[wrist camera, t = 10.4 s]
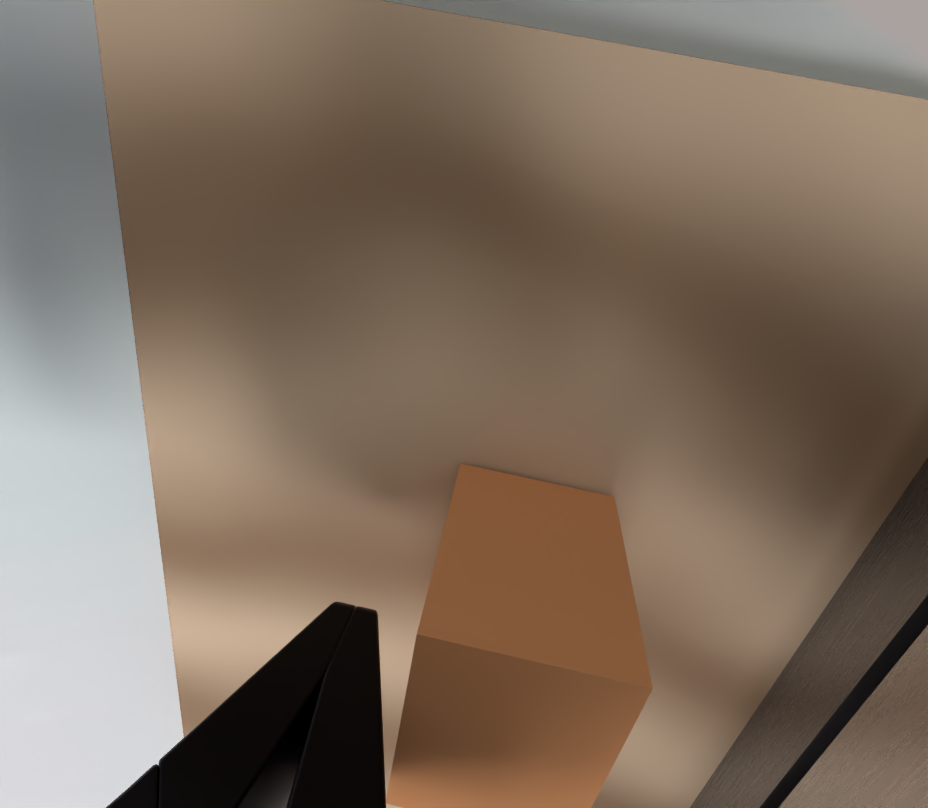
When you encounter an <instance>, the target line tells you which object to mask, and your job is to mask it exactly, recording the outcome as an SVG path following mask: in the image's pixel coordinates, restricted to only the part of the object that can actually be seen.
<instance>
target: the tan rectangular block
mask: <svg viewBox="0 0 928 808" xmlns="http://www.w3.org/2000/svg"><path fill="white" fill-rule="evenodd" d="M652 690H653V687H652V682H651V677H650V672H649V667H648V662H647V657H646V652H645V647H644V642H643V637H642V632H641V627H640V622H639V617H638V612H637V607H636V602H635V597H634V592H633V587H632V582H631V577H630V572H629V567H628V562H627V557H626V552H625V547H624V542H623V537H622V532H621V527H620V522H619V517H618V512H617V507H616V502H615V497H613V496H608V495H604V494H599V493H595V492H590V491H585V490H581V489H576V488H572V487H567V486H562V485H558V484H553V483H549V482H544V481H539V480H535V479H530V478H526V477H521V476H516V475H512V474H507V473H503V472H498V471H493V470H489V469H484V468H479V467H475V466H470V465H466V464H461V463H460V467H459V471H458V474H457V478H456V482H455V486H454V490H453V494H452V498H451V502H450V506H449V510H448V514H447V518H446V521H445V525H444V529H443V533H442V537H441V541H440V545H439V549H438V553H437V557H436V561H435V565H434V568H433V572H432V576H431V580H430V584H429V588H428V592H427V596H426V600H425V604H424V608H423V612H422V615H421V619H420V623H419V627H418V631H417V635H416V641H415V646H414V652H413V657H412V662H411V668H410V673H409V678H408V684H407V689H406V695H405V700H404V705H403V711H402V716H401V722H400V727H399V732H398V738H397V743H396V748H395V754H394V759H393V765H392V770H391V775H390V781H389V786H388V792H387V797H386V804H390V805H394V806H398V807H402V808H591V807H592V805H593V803H594V801H595V800H596V798H597V796H598V794H599V792H600V790H601V788H602V786H603V784H604V782H605V780H606V778H607V776H608V774H609V773H610V771H611V769H612V767H613V765H614V763H615V761H616V759H617V757H618V755H619V753H620V751H621V749H622V748H623V746H624V744H625V742H626V740H627V738H628V736H629V734H630V732H631V730H632V728H633V726H634V724H635V722H636V721H637V719H638V717H639V715H640V713H641V711H642V709H643V707H644V705H645V703H646V701H647V699H648V697H649V695H650V694H651V692H652Z"/></svg>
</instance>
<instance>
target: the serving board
mask: <svg viewBox="0 0 928 808" xmlns="http://www.w3.org/2000/svg"><path fill="white" fill-rule="evenodd" d="M93 3H94V11H95V19H96V27H97V36H98V44H99V52H100V60H101V68H102V76H103V84H104V92H105V100H106V109H107V117H108V125H109V133H110V141H111V149H112V157H113V165H114V173H115V182H116V190H117V198H118V206H119V214H120V222H121V230H122V238H123V246H124V255H125V263H126V271H127V279H128V287H129V295H130V303H131V311H132V319H133V327H134V336H135V344H136V352H137V360H138V368H139V376H140V384H141V392H142V400H143V409H144V417H145V425H146V433H147V441H148V449H149V457H150V465H151V473H152V482H153V490H154V498H155V506H156V514H157V522H158V530H159V538H160V546H161V555H162V563H163V571H164V579H165V587H166V595H167V603H168V611H169V619H170V628H171V636H172V644H173V652H174V660H175V668H176V676H177V684H178V692H179V701H180V709H181V717H182V725H183V733H184V737H185V736H186V735H188V734H189V733H190V732H191V731H192V730H193V729H194V728H195V727H196V726H197V725H199V724H200V723H201V722H202V721H203V720H204V719H205V718H206V717H207V716H208V715H210V714H211V713H212V712H213V711H214V710H215V709H216V708H217V707H218V706H219V705H221V704H222V703H223V702H224V701H225V700H226V699H227V698H228V697H229V696H230V695H232V694H233V693H234V692H235V691H236V690H237V689H238V688H239V687H240V686H241V685H243V684H244V683H245V682H246V681H247V680H248V679H249V678H250V677H251V676H252V675H254V674H255V673H256V672H257V671H258V670H259V669H260V668H261V667H262V666H263V665H265V664H266V663H267V662H268V661H269V660H270V659H271V658H272V657H273V656H274V655H275V654H277V653H278V652H279V651H280V650H281V649H282V648H283V647H284V646H285V645H286V644H288V643H289V642H290V641H291V640H292V639H293V638H294V637H295V636H296V635H297V634H299V633H300V632H301V631H302V630H303V629H304V628H305V627H306V626H307V625H308V624H310V623H311V622H312V621H313V620H314V619H315V618H316V617H317V616H318V615H319V614H321V613H322V612H323V611H324V610H325V609H326V608H327V607H328V606H329V605H331V604H332V603H333V602H343V603H347V604H352V605H354V606H356V607H357V606H360V607H365V608H369V609H374V610H376V611H377V613H378V626H379V650H380V673H381V696H382V719H383V743H384V766H385V789H386V797H387V792H388V786H389V781H390V775H391V770H392V765H393V759H394V754H395V748H396V743H397V738H398V732H399V727H400V722H401V716H402V711H403V705H404V700H405V695H406V689H407V684H408V678H409V673H410V668H411V662H412V657H413V652H414V646H415V641H416V635H417V631H418V627H419V623H420V619H421V615H422V612H423V608H424V604H425V600H426V596H427V592H428V588H429V584H430V580H431V576H432V572H433V568H434V565H435V561H436V557H437V553H438V549H439V545H440V541H441V537H442V533H443V529H444V525H445V521H446V518H447V514H448V510H449V506H450V502H451V498H452V494H453V490H454V486H455V482H456V478H457V474H458V471H459V467H460V463H461V464H466V465H470V466H475V467H479V468H484V469H489V470H493V471H498V472H503V473H507V474H512V475H516V476H521V477H526V478H530V479H535V480H539V481H544V482H549V483H553V484H558V485H562V486H567V487H572V488H576V489H581V490H585V491H590V492H595V493H599V494H604V495H608V496H613V497H615V502H616V507H617V512H618V517H619V522H620V527H621V532H622V537H623V542H624V547H625V552H626V557H627V562H628V567H629V572H630V577H631V582H632V587H633V592H634V597H635V602H636V607H637V612H638V617H639V622H640V627H641V632H642V637H643V642H644V647H645V652H646V657H647V662H648V667H649V672H650V677H651V682H652V687H653V690H652V692H651V694H650V695H649V697H648V699H647V701H646V703H645V705H644V707H643V709H642V711H641V713H640V715H639V717H638V719H637V721H636V722H635V724H634V726H633V728H632V730H631V732H630V734H629V736H628V738H627V740H626V742H625V744H624V746H623V748H622V749H621V751H620V753H619V755H618V757H617V759H616V761H615V763H614V765H613V767H612V769H611V771H610V773H609V774H608V776H607V778H606V780H605V782H604V784H603V786H602V788H601V790H600V792H599V794H598V796H597V798H596V800H595V801H594V803H593V805H592V807H591V808H690V807H691V805H692V804H693V802H694V801H695V799H696V798H697V796H698V795H699V793H700V792H701V790H702V789H703V788H704V786H705V785H706V783H707V782H708V780H709V779H710V777H711V776H712V774H713V773H714V771H715V770H716V768H717V767H718V765H719V764H720V762H721V761H722V760H723V758H724V757H725V755H726V754H727V752H728V751H729V749H730V748H731V746H732V745H733V743H734V742H735V740H736V739H737V737H738V736H739V734H740V733H741V731H742V730H743V729H744V727H745V726H746V724H747V723H748V721H749V720H750V718H751V717H752V715H753V714H754V712H755V711H756V709H757V708H758V706H759V705H760V703H761V702H762V700H763V699H764V698H765V696H766V695H767V693H768V692H769V690H770V689H771V687H772V686H773V684H774V683H775V681H776V680H777V678H778V677H779V675H780V674H781V672H782V671H783V669H784V668H785V667H786V665H787V664H788V662H789V661H790V659H791V658H792V656H793V655H794V653H795V652H796V650H797V649H798V647H799V646H800V644H801V643H802V641H803V640H804V638H805V637H806V636H807V634H808V633H809V631H810V630H811V628H812V627H813V625H814V624H815V622H816V621H817V619H818V618H819V616H820V615H821V613H822V612H823V610H824V609H825V607H826V606H827V605H828V603H829V602H830V600H831V599H832V597H833V596H834V594H835V593H836V591H837V590H838V588H839V587H840V585H841V584H842V582H843V581H844V579H845V578H846V577H847V575H848V574H849V572H850V571H851V569H852V568H853V566H854V565H855V563H856V562H857V560H858V559H859V557H860V556H861V554H862V553H863V551H864V550H865V548H866V547H867V546H868V544H869V543H870V541H871V540H872V538H873V537H874V535H875V534H876V532H877V531H878V529H879V528H880V526H881V525H882V523H883V522H884V520H885V519H886V517H887V516H888V515H889V513H890V512H891V510H892V509H893V507H894V506H895V504H896V503H897V501H898V500H899V498H900V497H901V495H902V494H903V492H904V491H905V489H906V488H907V486H908V485H909V484H910V482H911V481H912V479H913V478H914V476H915V475H916V473H917V472H918V470H919V469H920V467H921V466H922V464H923V463H924V461H925V460H926V458H927V457H928V99H922V98H917V97H911V96H905V95H900V94H894V93H889V92H883V91H878V90H872V89H867V88H861V87H856V86H850V85H845V84H839V83H834V82H828V81H823V80H817V79H812V78H806V77H801V76H795V75H790V74H784V73H779V72H773V71H768V70H762V69H757V68H751V67H746V66H740V65H735V64H729V63H724V62H718V61H713V60H707V59H702V58H696V57H690V56H685V55H679V54H674V53H668V52H663V51H657V50H652V49H646V48H641V47H635V46H630V45H624V44H619V43H613V42H608V41H602V40H597V39H591V38H586V37H580V36H575V35H569V34H564V33H558V32H553V31H547V30H542V29H536V28H531V27H525V26H520V25H514V24H509V23H503V22H498V21H492V20H487V19H481V18H475V17H470V16H464V15H459V14H453V13H448V12H442V11H437V10H431V9H426V8H420V7H415V6H409V5H404V4H398V3H393V2H387V1H382V0H93ZM386 808H402V807H398V806H394V805H390V804H386Z"/></svg>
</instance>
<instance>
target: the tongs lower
mask: <svg viewBox="0 0 928 808" xmlns="http://www.w3.org/2000/svg"><path fill="white" fill-rule="evenodd" d="M927 625H928V457H927V458H926V460H925V461H924V463H923V464H922V466H921V467H920V469H919V470H918V472H917V473H916V475H915V476H914V478H913V479H912V481H911V482H910V484H909V485H908V486H907V488H906V489H905V491H904V492H903V494H902V495H901V497H900V498H899V500H898V501H897V503H896V504H895V506H894V507H893V509H892V510H891V512H890V513H889V515H888V516H887V517H886V519H885V520H884V522H883V523H882V525H881V526H880V528H879V529H878V531H877V532H876V534H875V535H874V537H873V538H872V540H871V541H870V543H869V544H868V546H867V547H866V548H865V550H864V551H863V553H862V554H861V556H860V557H859V559H858V560H857V562H856V563H855V565H854V566H853V568H852V569H851V571H850V572H849V574H848V575H847V577H846V578H845V579H844V581H843V582H842V584H841V585H840V587H839V588H838V590H837V591H836V593H835V594H834V596H833V597H832V599H831V600H830V602H829V603H828V605H827V606H826V607H825V609H824V610H823V612H822V613H821V615H820V616H819V618H818V619H817V621H816V622H815V624H814V625H813V627H812V628H811V630H810V631H809V633H808V634H807V636H806V637H805V638H804V640H803V641H802V643H801V644H800V646H799V647H798V649H797V650H796V652H795V653H794V655H793V656H792V658H791V659H790V661H789V662H788V664H787V665H786V667H785V668H784V669H783V671H782V672H781V674H780V675H779V677H778V678H777V680H776V681H775V683H774V684H773V686H772V687H771V689H770V690H769V692H768V693H767V695H766V696H765V698H764V699H763V700H762V702H761V703H760V705H759V706H758V708H757V709H756V711H755V712H754V714H753V715H752V717H751V718H750V720H749V721H748V723H747V724H746V726H745V727H744V729H743V730H742V731H741V733H740V734H739V736H738V737H737V739H736V740H735V742H734V743H733V745H732V746H731V748H730V749H729V751H728V752H727V754H726V755H725V757H724V758H723V760H722V761H721V762H720V764H719V765H718V767H717V768H716V770H715V771H714V773H713V774H712V776H711V777H710V779H709V780H708V782H707V783H706V785H705V786H704V788H703V789H702V790H701V792H700V793H699V795H698V796H697V798H696V799H695V801H694V802H693V804H692V805H691V807H690V808H779V807H780V805H781V804H782V803H783V802H784V800H785V799H786V798H787V797H788V796H789V794H790V793H791V792H792V791H793V789H794V788H795V787H796V786H797V785H798V783H799V782H800V781H801V780H802V778H803V777H804V776H805V775H806V774H807V772H808V771H809V770H810V769H811V767H812V766H813V765H814V764H815V762H816V761H817V760H818V759H819V758H820V756H821V755H822V754H823V753H824V751H825V750H826V749H827V748H828V747H829V745H830V744H831V743H832V742H833V740H834V739H835V738H836V737H837V736H838V734H839V733H840V732H841V731H842V729H843V728H844V727H845V726H846V725H847V723H848V722H849V721H850V720H851V718H852V717H853V716H854V715H855V713H856V712H857V711H858V710H859V709H860V707H861V706H862V705H863V704H864V702H865V701H866V700H867V699H868V698H869V696H870V695H871V694H872V693H873V691H874V690H875V689H876V688H877V687H878V685H879V684H880V683H881V682H882V680H883V679H884V678H885V677H886V676H887V674H888V673H889V672H890V671H891V669H892V668H893V667H894V666H895V665H896V663H897V662H898V661H899V660H900V658H901V657H902V656H903V655H904V653H905V652H906V651H907V650H908V649H909V647H910V646H911V645H912V644H913V642H914V641H915V640H916V639H917V638H918V636H919V635H920V634H921V633H922V631H923V630H924V629H925V628H926V627H927Z"/></svg>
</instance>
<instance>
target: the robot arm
mask: <svg viewBox="0 0 928 808" xmlns="http://www.w3.org/2000/svg"><path fill="white" fill-rule="evenodd" d="M106 808H386V789H385V766H384V743H383V719H382V696H381V673H380V650H379V626H378V613H377V611H376V610H374V609H369V608H365V607H360V606H357V607H356V606H354V605H352V604H347V603H343V602H333V603H332V604H331V605H329V606H328V607H327V608H326V609H325V610H324V611H323V612H322V613H321V614H319V615H318V616H317V617H316V618H315V619H314V620H313V621H312V622H311V623H310V624H308V625H307V626H306V627H305V628H304V629H303V630H302V631H301V632H300V633H299V634H297V635H296V636H295V637H294V638H293V639H292V640H291V641H290V642H289V643H288V644H286V645H285V646H284V647H283V648H282V649H281V650H280V651H279V652H278V653H277V654H275V655H274V656H273V657H272V658H271V659H270V660H269V661H268V662H267V663H266V664H265V665H263V666H262V667H261V668H260V669H259V670H258V671H257V672H256V673H255V674H254V675H252V676H251V677H250V678H249V679H248V680H247V681H246V682H245V683H244V684H243V685H241V686H240V687H239V688H238V689H237V690H236V691H235V692H234V693H233V694H232V695H230V696H229V697H228V698H227V699H226V700H225V701H224V702H223V703H222V704H221V705H219V706H218V707H217V708H216V709H215V710H214V711H213V712H212V713H211V714H210V715H208V716H207V717H206V718H205V719H204V720H203V721H202V722H201V723H200V724H199V725H197V726H196V727H195V728H194V729H193V730H192V731H191V732H190V733H189V734H188V735H186V736H185V737H184V738H183V739H182V740H181V741H180V742H179V743H178V744H177V745H175V746H174V747H173V748H172V749H171V750H170V751H169V752H168V753H167V754H166V755H165V756H163V757H162V758H161V759H160V761H159V766H158V765H157V764H155V765H153V766H152V767H151V768H150V769H149V770H148V771H147V772H145V773H144V774H143V775H142V776H141V777H140V778H139V779H138V780H137V781H136V782H135V783H133V784H132V785H131V786H130V787H129V788H128V789H127V790H126V791H125V792H123V793H122V794H121V795H120V796H119V797H118V798H116V799H115V800H114V801H113V802H112V803H111V804H110V805H108V806H107V807H106Z"/></svg>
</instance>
